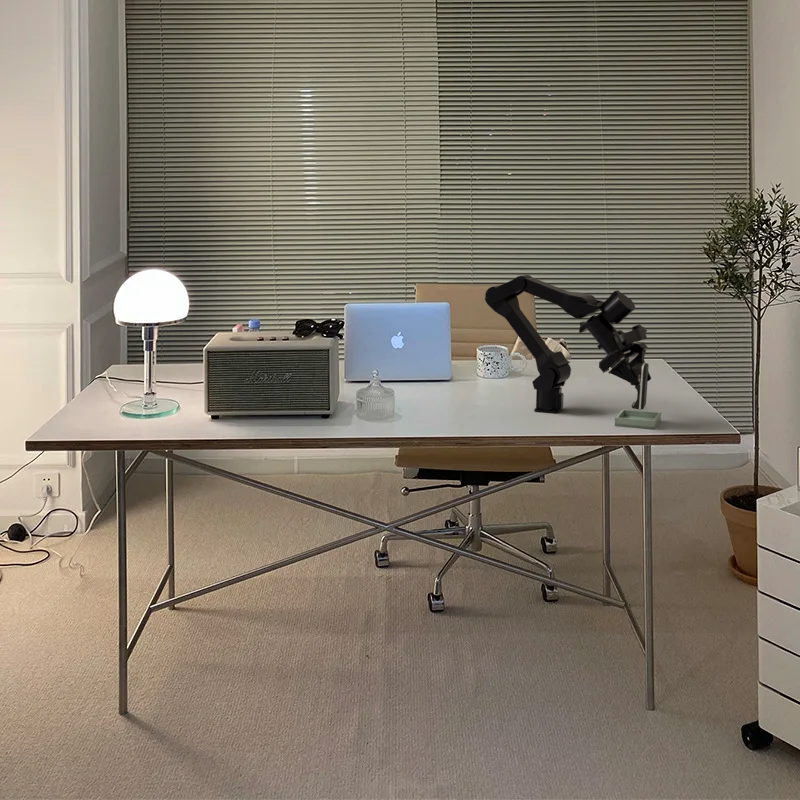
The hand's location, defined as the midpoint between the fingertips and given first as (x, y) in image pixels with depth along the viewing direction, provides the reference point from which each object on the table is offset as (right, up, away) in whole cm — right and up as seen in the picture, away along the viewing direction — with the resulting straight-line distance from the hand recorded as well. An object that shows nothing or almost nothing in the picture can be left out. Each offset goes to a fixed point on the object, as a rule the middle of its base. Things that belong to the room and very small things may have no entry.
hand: (644, 382), depth 266 cm
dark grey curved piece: (-1, -7, +2) cm, 7 cm away
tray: (-1, -10, +3) cm, 11 cm away
